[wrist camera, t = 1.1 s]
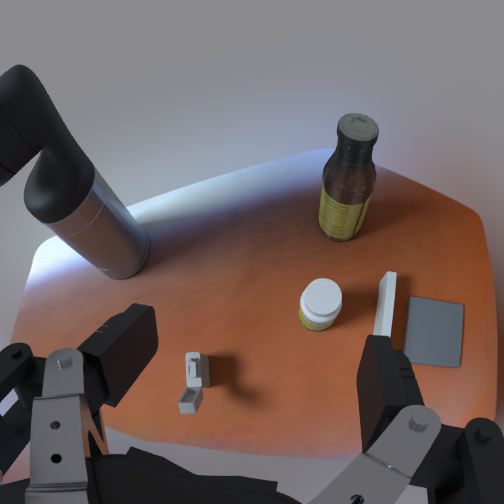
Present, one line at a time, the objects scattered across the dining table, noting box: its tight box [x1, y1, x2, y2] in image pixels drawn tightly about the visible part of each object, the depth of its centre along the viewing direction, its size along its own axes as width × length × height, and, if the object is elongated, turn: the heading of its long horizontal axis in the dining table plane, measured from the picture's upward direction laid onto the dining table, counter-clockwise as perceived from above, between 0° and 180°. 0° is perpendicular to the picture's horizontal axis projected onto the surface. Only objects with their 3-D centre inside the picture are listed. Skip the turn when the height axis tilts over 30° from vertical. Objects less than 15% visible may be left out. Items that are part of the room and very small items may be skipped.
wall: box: [373, 271, 396, 337], centre depth 36 cm, size 1×12×4 cm, turn 166°
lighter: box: [178, 352, 210, 414], centre depth 33 cm, size 7×2×8 cm, turn 5°
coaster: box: [403, 296, 463, 368], centre depth 36 cm, size 9×9×1 cm
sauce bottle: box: [319, 113, 379, 242], centre depth 36 cm, size 7×6×20 cm
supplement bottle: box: [299, 278, 342, 332], centre depth 36 cm, size 5×5×8 cm
